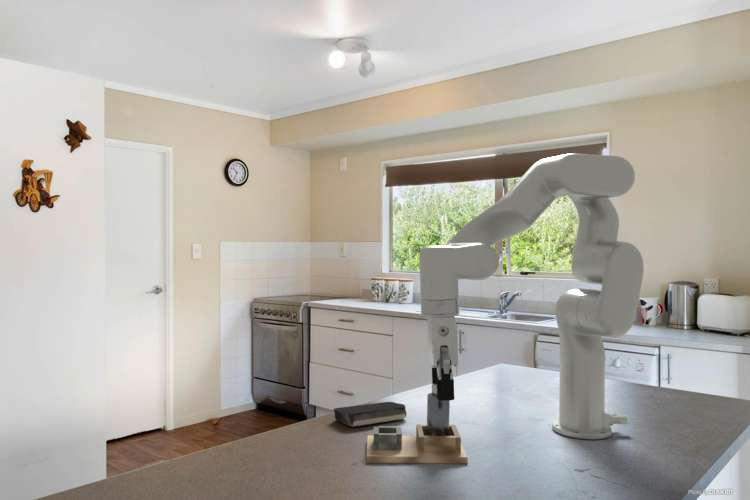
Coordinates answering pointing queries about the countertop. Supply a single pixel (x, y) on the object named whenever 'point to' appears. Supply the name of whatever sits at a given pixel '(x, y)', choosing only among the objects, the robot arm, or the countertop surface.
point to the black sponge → (370, 413)
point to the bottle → (437, 414)
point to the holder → (414, 446)
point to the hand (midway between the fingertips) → (442, 393)
